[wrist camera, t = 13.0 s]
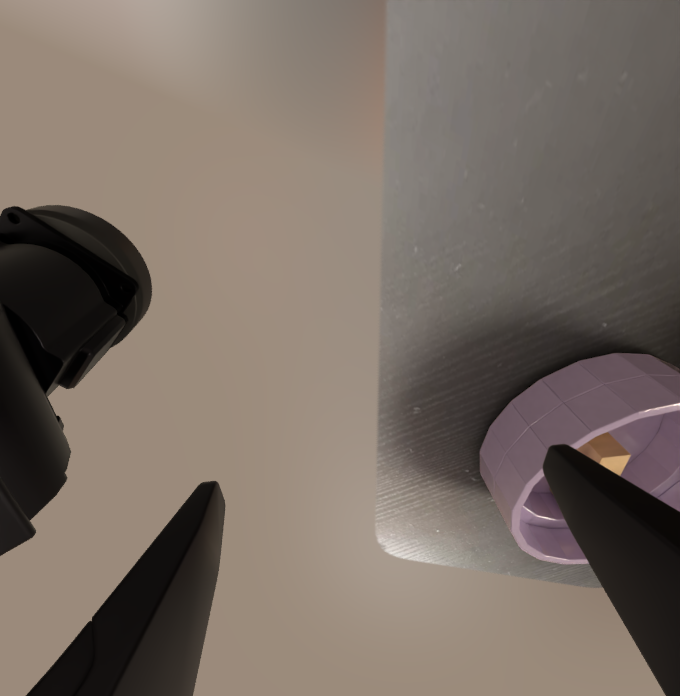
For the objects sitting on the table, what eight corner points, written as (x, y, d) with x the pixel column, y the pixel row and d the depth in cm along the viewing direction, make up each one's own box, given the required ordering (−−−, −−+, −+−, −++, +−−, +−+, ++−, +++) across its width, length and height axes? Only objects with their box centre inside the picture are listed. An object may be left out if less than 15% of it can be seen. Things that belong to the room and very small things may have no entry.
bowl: (435, 449, 27) (463, 516, 22) (624, 304, 22) (713, 351, 17) (542, 520, 33) (581, 585, 28) (709, 420, 28) (792, 478, 23)
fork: (577, 486, 30) (603, 519, 27) (544, 489, 29) (567, 523, 27) (623, 377, 24) (662, 407, 21) (583, 381, 24) (617, 411, 21)
